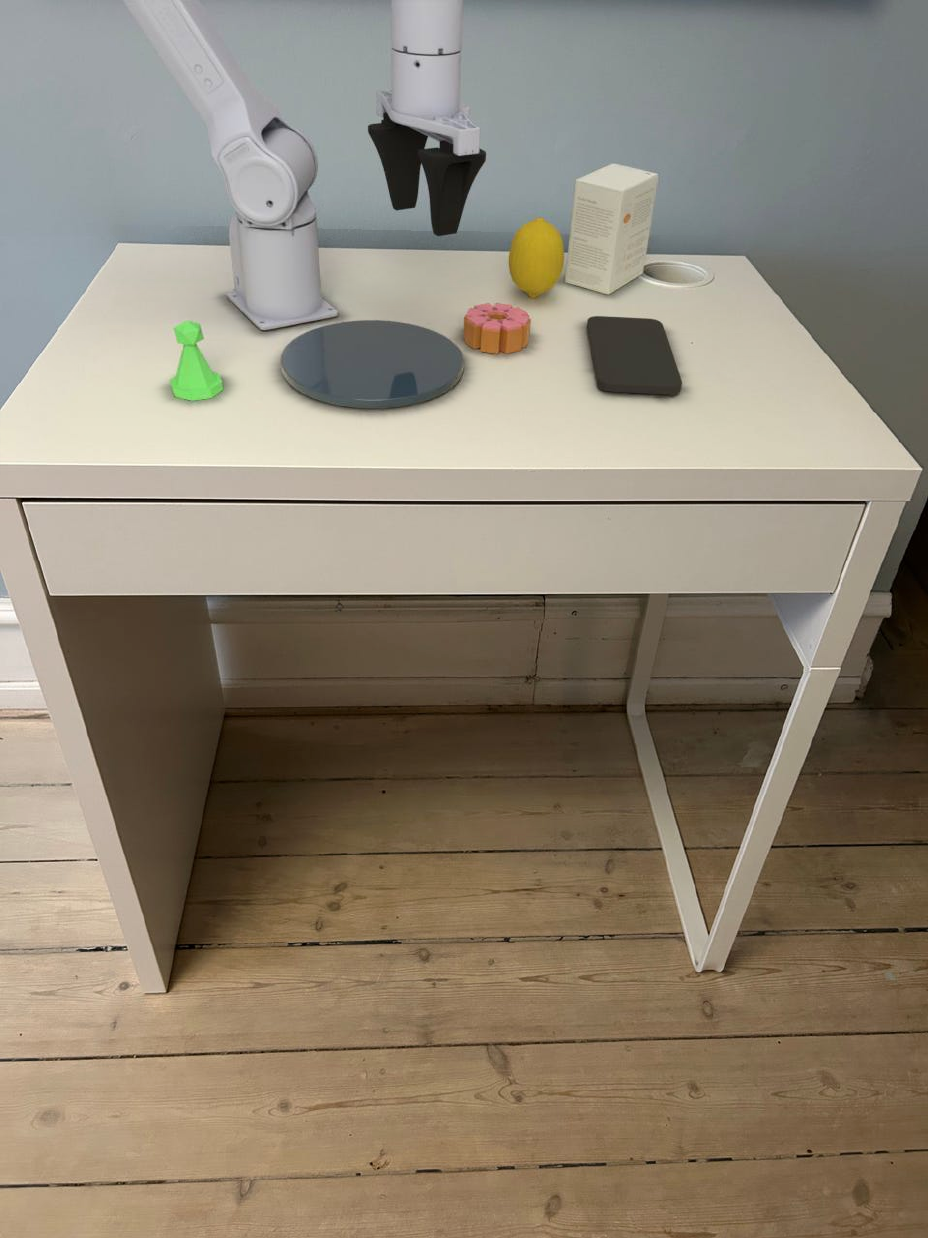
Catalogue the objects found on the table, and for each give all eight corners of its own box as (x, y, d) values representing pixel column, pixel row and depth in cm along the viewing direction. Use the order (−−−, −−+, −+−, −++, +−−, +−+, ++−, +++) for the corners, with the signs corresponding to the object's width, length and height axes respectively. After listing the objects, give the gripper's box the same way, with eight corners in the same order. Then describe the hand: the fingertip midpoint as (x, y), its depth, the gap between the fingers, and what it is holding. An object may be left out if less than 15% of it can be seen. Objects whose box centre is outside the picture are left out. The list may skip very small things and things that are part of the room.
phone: (661, 318, 93) (685, 388, 82) (660, 327, 94) (683, 396, 82) (586, 315, 93) (598, 383, 82) (585, 323, 94) (597, 392, 82)
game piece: (228, 378, 82) (219, 310, 78) (217, 401, 79) (208, 332, 75) (177, 376, 82) (166, 308, 78) (165, 399, 79) (152, 329, 75)
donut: (452, 333, 91) (453, 309, 89) (505, 322, 93) (507, 298, 92) (486, 358, 87) (487, 333, 85) (540, 346, 89) (542, 321, 88)
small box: (599, 262, 107) (612, 161, 100) (644, 274, 104) (660, 172, 98) (562, 282, 102) (573, 177, 95) (608, 296, 99) (623, 189, 93)
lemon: (556, 311, 96) (564, 229, 91) (501, 304, 97) (507, 223, 91) (562, 290, 100) (571, 211, 95) (510, 284, 101) (516, 205, 96)
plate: (253, 349, 86) (252, 339, 86) (408, 318, 93) (408, 308, 92) (329, 427, 76) (328, 416, 75) (497, 385, 83) (498, 375, 82)
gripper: (516, 62, 75) (504, 239, 84) (425, 30, 84) (423, 192, 93) (438, 69, 72) (434, 251, 81) (353, 34, 81) (358, 201, 90)
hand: (424, 220), depth 87 cm, fingers open, 7 cm apart
